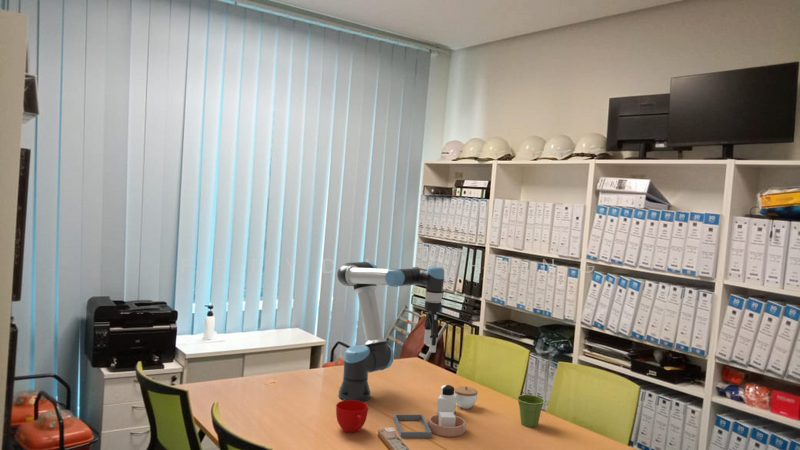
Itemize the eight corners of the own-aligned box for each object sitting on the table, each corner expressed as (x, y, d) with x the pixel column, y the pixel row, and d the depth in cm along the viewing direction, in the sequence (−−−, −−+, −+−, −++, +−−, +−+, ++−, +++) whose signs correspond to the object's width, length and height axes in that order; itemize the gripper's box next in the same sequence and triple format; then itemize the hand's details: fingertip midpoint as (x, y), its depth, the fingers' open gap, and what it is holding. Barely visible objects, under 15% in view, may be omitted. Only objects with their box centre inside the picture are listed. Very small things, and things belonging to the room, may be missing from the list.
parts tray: (400, 437, 232) (400, 432, 232) (393, 419, 251) (393, 414, 251) (431, 437, 234) (431, 432, 234) (422, 419, 253) (422, 414, 253)
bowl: (432, 436, 235) (433, 427, 235) (425, 422, 250) (425, 413, 250) (469, 436, 237) (469, 427, 237) (459, 422, 252) (460, 414, 252)
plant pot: (513, 418, 261) (515, 393, 261) (539, 420, 261) (541, 395, 261) (517, 428, 250) (519, 402, 249) (545, 430, 249) (547, 404, 249)
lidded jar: (475, 411, 267) (476, 391, 267) (452, 408, 269) (453, 388, 269) (477, 404, 278) (478, 384, 277) (454, 401, 280) (456, 381, 280)
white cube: (454, 431, 241) (455, 417, 241) (440, 431, 240) (441, 417, 240) (452, 426, 247) (453, 412, 247) (438, 425, 246) (439, 411, 246)
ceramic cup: (343, 441, 225) (345, 416, 225) (330, 425, 240) (332, 401, 240) (374, 438, 230) (376, 413, 230) (360, 422, 246) (361, 398, 245)
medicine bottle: (455, 411, 266) (457, 385, 266) (451, 416, 259) (453, 389, 259) (440, 408, 268) (442, 382, 268) (436, 413, 262) (438, 387, 261)
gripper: (447, 307, 249) (443, 356, 250) (436, 296, 274) (432, 341, 275) (430, 306, 248) (426, 355, 249) (420, 295, 273) (416, 340, 274)
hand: (429, 348), depth 262 cm, fingers open, 13 cm apart
